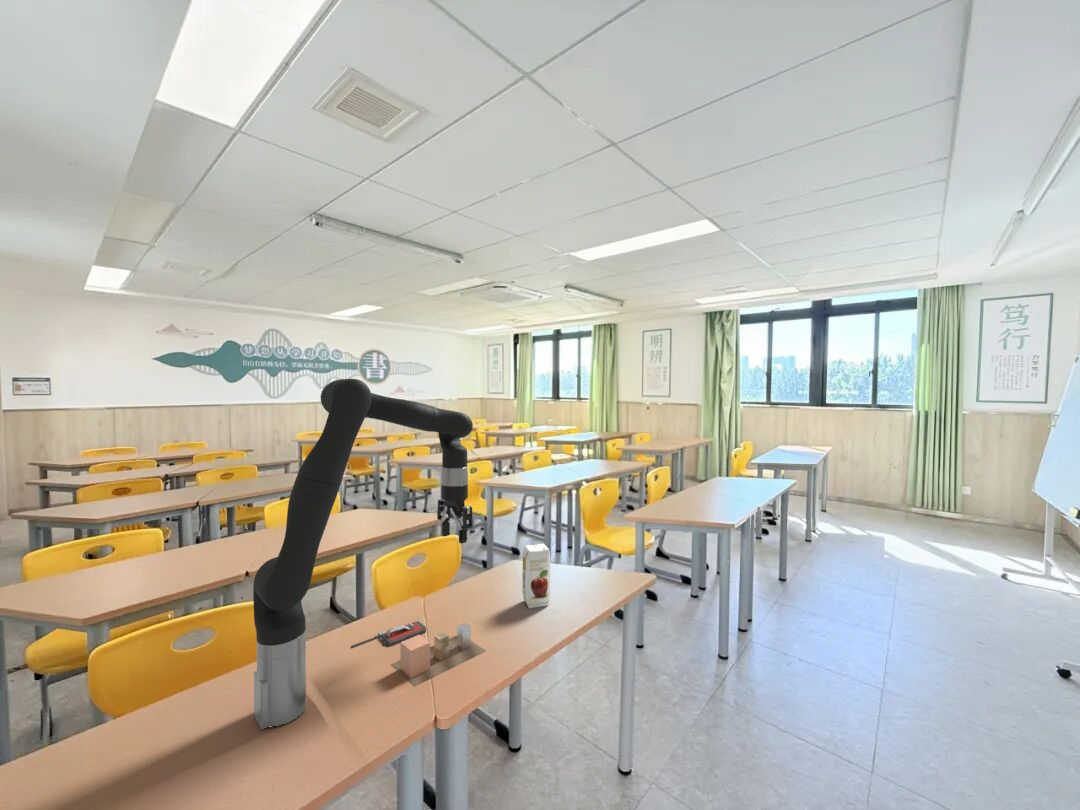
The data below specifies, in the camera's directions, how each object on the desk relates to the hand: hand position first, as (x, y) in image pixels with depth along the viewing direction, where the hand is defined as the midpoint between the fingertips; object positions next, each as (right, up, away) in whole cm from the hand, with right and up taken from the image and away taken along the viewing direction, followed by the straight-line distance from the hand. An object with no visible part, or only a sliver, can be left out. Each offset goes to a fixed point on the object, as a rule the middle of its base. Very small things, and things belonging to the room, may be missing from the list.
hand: (454, 539), depth 127 cm
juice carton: (+23, -28, +22) cm, 43 cm away
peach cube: (-6, -27, -17) cm, 32 cm away
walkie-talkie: (-17, -29, -2) cm, 34 cm away
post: (+4, -27, -7) cm, 28 cm away
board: (-1, -29, -12) cm, 31 cm away
